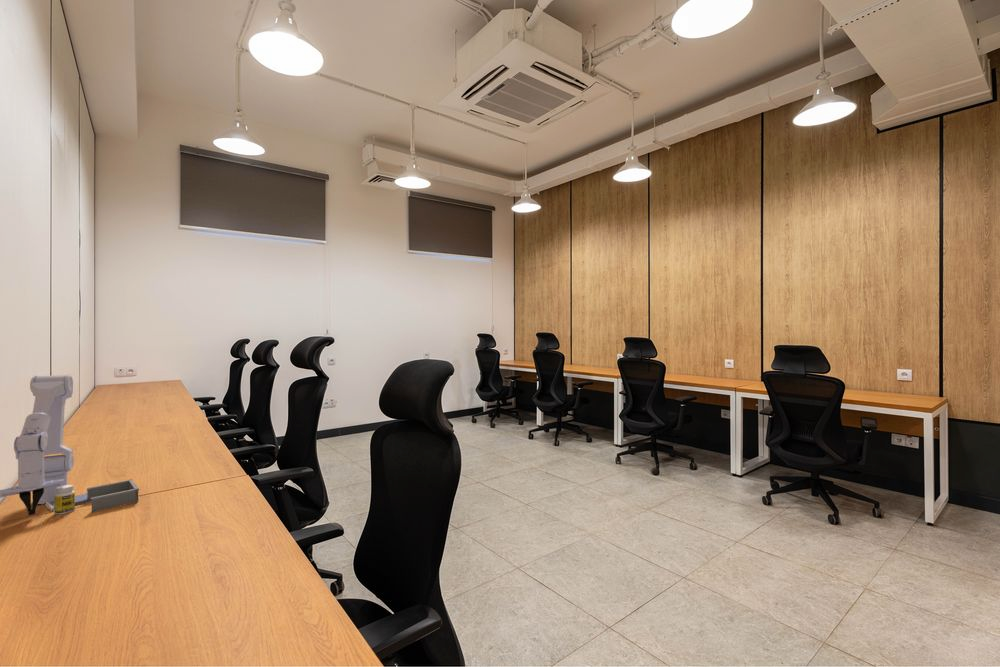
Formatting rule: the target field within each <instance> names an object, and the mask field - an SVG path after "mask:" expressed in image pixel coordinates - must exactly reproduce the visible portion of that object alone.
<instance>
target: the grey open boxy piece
mask: <svg viewBox="0 0 1000 667" xmlns="http://www.w3.org/2000/svg"><path fill="white" fill-rule="evenodd" d="M86 491H87V499H90V498H91V503H90V504H91V513H94V512H95V513H96V512H98V511H99V512H100V511H103V510H107V509H112V507H113V508H117V507H116V506H118V507H120V505H122V506H125V505H124V504H127V505H130V504H129V503H131V504H134V503H133V502H135V503H138V502H139V491H140V488H139V487H138V486H137V483H135V482H134V480H133V479H132V478H131V479H125V480H121V481H117V482H112V483H107V484H106V483H105V484H101V485H96V486H91V487H87V488H86ZM137 501H138V502H137Z"/></svg>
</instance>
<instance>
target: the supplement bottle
mask: <svg viewBox="0 0 1000 667" xmlns="http://www.w3.org/2000/svg"><path fill="white" fill-rule="evenodd" d="M75 492H76V491H75V490H74V485H73V484H67V485H64V486H61V487H57V488H56V494H55V510H54V515H66V514H69V513H72V512H74V511H75V510H76V508H75V506H76V505H75V496H76V495H75V494H76V493H75Z"/></svg>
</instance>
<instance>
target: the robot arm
mask: <svg viewBox="0 0 1000 667" xmlns="http://www.w3.org/2000/svg"><path fill="white" fill-rule="evenodd" d="M29 389H30V392H31V393H32V396H33V397H35V398H34V403H33V408H32V412H31V413H30V414H28V415H27V416H26V417H25V420H24V422H23V426H22V430H21V433H20V434H19V436H16V437H15V438H14V442H13V451H14V454H15V459H16V460H17V479H18V480H17V483H18V484H17V486H13V487H8V488H4V489H0V499H1V498H3V497H8V496H10V497H11V496H15V495H19V499H20V500H21V501H22V503H23V504H24V506H25V508H26V509H27V512H28V516H34V515H36V511H37V507H38V506H39V505H38V504H41V505H46V504H45V503H46V502H51V501H55V494H56V488H57V487H61V486H64V485H68V473H69V472H71V470H73V467H74V463H75V460H74V452H73V450H72V449H71V448H70V447H68V446H65V445H64V444H63V443H64V426H65V424H64V423H65V406H66V401H67V400H69V399H70V398H72V396H73V392H74V380H73V376H71V375H70V374H60V375H59V374H58V375H57V374H56V375H34V376H32V377H31V379H30V382H29ZM31 492H32V493H31Z"/></svg>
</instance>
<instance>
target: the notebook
mask: <svg viewBox="0 0 1000 667" xmlns="http://www.w3.org/2000/svg"><path fill="white" fill-rule="evenodd" d="M90 501H91V498H90V499H87V493H81V494H78V495H75V506H77V504H79V505H83V504H86V502H87V503H90ZM82 503H83V504H82ZM45 506H46V508H47V509H49V510H50V511H51V510H54V511H55V501H51V502H46V504H45Z"/></svg>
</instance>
